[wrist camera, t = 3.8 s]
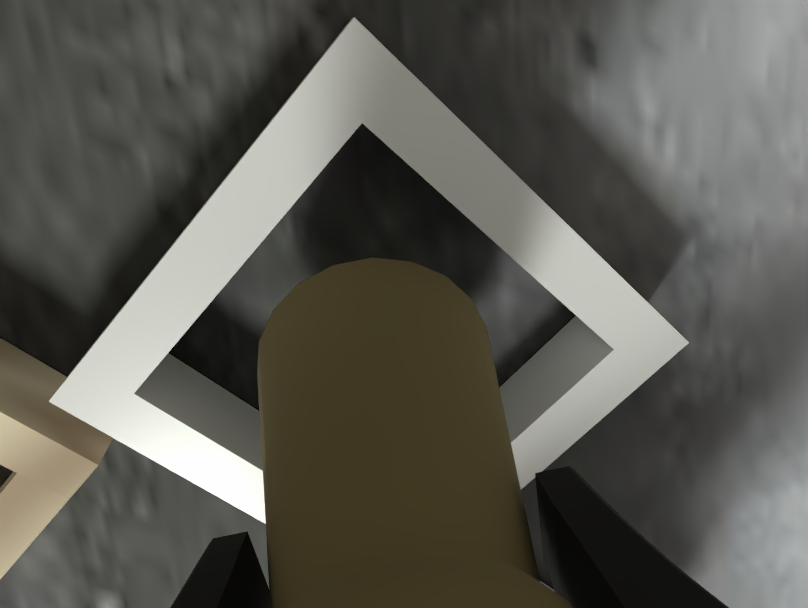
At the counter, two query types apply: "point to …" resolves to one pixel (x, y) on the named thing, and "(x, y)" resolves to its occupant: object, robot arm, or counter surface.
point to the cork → (389, 449)
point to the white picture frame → (266, 205)
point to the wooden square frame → (37, 451)
